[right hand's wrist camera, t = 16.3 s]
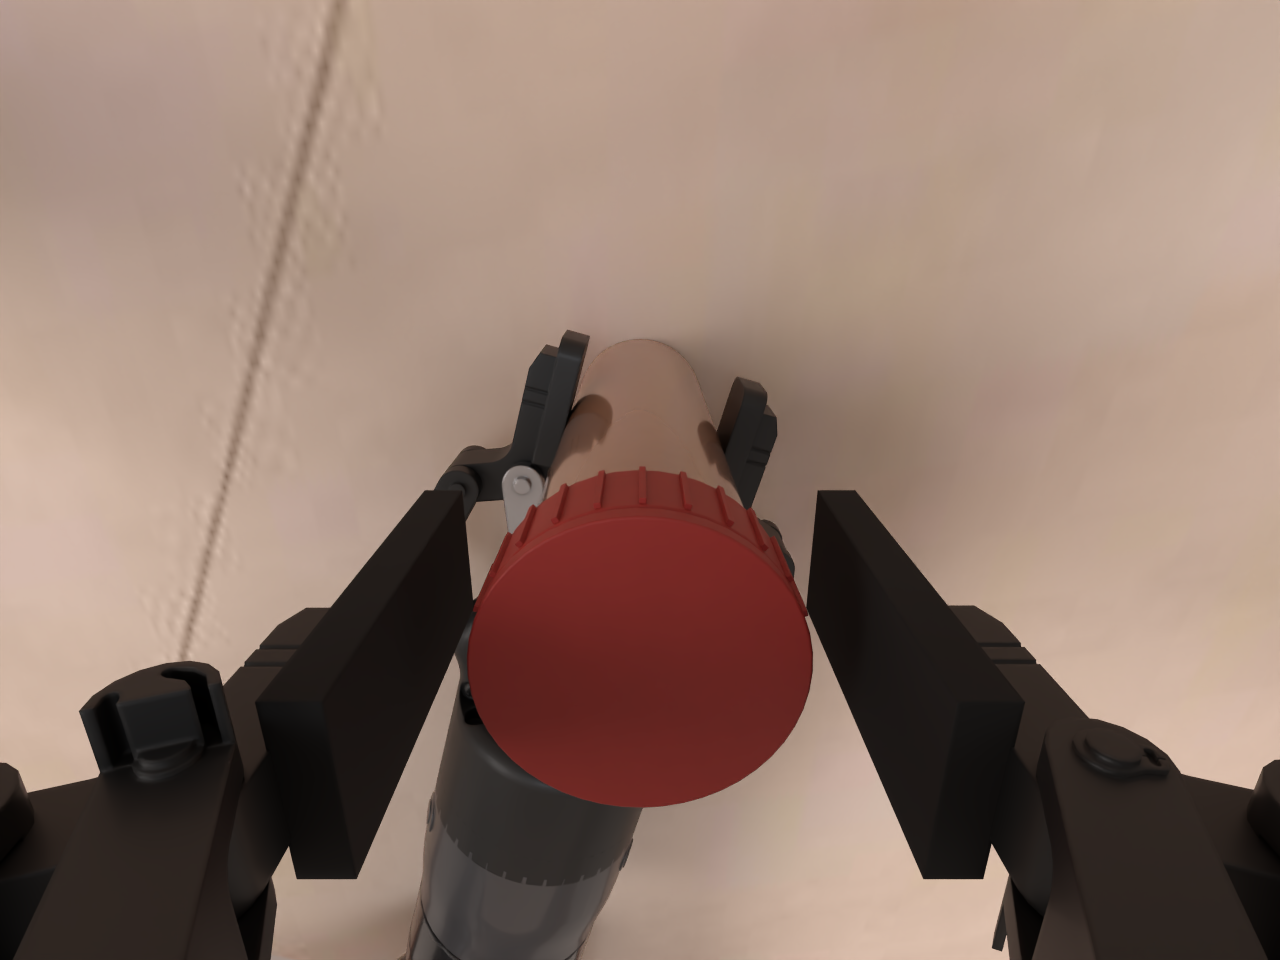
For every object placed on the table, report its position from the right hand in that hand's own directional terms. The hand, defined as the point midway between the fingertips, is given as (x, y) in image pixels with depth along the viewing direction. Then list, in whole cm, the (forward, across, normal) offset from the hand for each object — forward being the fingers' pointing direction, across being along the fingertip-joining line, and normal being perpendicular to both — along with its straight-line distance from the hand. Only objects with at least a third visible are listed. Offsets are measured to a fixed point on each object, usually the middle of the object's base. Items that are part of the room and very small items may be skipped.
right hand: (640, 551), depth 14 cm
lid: (-4, 0, 0) cm, 4 cm away
